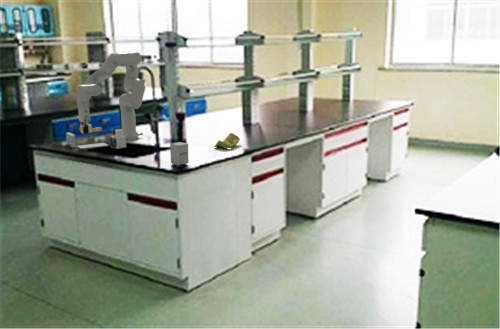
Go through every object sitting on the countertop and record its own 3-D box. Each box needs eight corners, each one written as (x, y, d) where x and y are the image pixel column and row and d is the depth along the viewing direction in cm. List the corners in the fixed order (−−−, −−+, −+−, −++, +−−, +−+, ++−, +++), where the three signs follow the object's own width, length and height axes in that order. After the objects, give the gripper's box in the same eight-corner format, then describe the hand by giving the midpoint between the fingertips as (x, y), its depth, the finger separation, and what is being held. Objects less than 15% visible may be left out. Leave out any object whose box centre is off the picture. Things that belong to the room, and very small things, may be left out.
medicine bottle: (110, 147, 351) (109, 129, 348) (120, 145, 356) (119, 127, 353) (116, 149, 346) (115, 130, 343) (126, 147, 351) (125, 129, 348)
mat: (103, 143, 363) (103, 142, 363) (108, 145, 356) (108, 145, 356) (76, 146, 354) (76, 145, 354) (80, 148, 346) (80, 148, 346)
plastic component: (230, 146, 342) (217, 139, 344) (226, 156, 346) (213, 148, 347) (242, 138, 360) (229, 131, 362) (238, 148, 363) (225, 140, 365)
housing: (70, 143, 362) (69, 132, 360) (75, 147, 352) (74, 135, 350) (66, 144, 360) (65, 132, 358) (72, 147, 351) (71, 135, 349)
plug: (100, 130, 358) (99, 123, 357) (102, 131, 354) (102, 124, 353) (79, 132, 350) (78, 124, 349) (81, 133, 347) (80, 125, 346)
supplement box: (179, 167, 300) (178, 145, 297) (170, 165, 305) (169, 143, 302) (189, 165, 305) (188, 143, 302) (180, 163, 310) (179, 141, 307)
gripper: (93, 105, 341) (94, 133, 345) (85, 102, 355) (86, 130, 359) (81, 106, 337) (82, 134, 341) (73, 103, 351) (75, 130, 355)
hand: (84, 132), depth 350 cm, fingers closed on plug, 4 cm apart
